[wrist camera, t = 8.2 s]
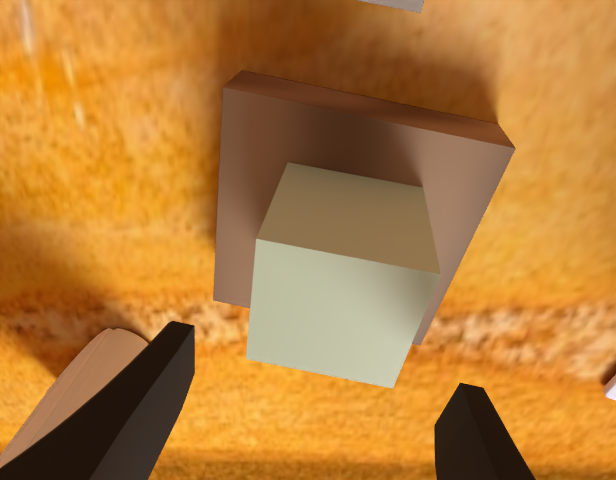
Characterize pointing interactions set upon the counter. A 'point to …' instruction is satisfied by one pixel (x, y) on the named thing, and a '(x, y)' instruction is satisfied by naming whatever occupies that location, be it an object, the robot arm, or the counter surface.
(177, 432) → the counter surface
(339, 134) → the walnut slab
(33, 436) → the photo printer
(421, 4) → the grey cube
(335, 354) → the sage cube
